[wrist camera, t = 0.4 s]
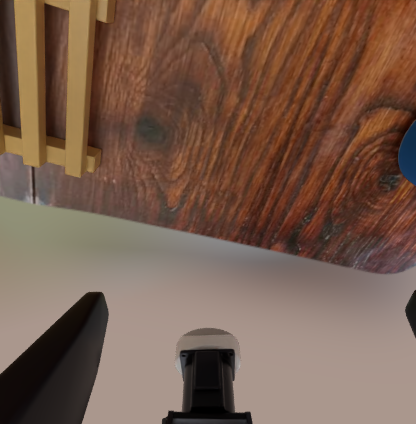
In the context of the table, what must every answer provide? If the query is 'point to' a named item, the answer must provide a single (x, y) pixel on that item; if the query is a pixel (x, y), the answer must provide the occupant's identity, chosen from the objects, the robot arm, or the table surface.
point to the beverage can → (408, 154)
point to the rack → (35, 86)
